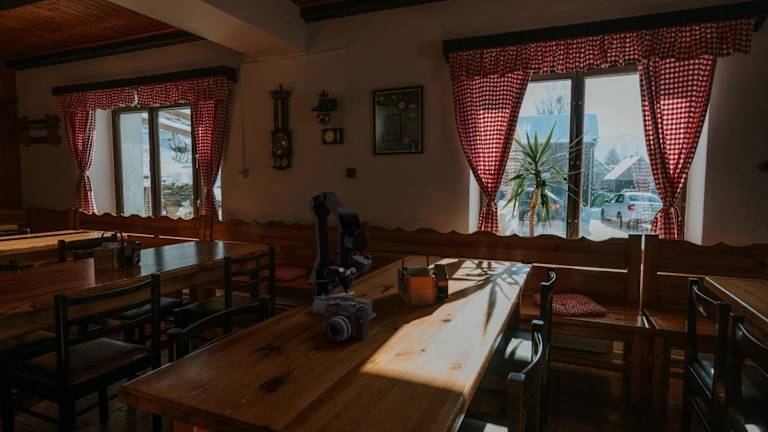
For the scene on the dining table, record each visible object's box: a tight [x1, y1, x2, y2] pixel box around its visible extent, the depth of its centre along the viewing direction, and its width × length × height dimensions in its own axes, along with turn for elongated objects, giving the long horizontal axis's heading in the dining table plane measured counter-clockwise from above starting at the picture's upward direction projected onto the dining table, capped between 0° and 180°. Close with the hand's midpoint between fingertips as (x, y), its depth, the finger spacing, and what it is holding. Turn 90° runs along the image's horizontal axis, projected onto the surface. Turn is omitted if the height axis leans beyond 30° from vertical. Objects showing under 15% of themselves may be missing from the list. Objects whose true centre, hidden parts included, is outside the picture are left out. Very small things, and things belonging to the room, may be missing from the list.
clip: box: [353, 297, 373, 315], centre depth 153 cm, size 5×4×4 cm
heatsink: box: [312, 292, 359, 316], centre depth 158 cm, size 15×10×5 cm, turn 62°
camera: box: [325, 300, 369, 342], centre depth 133 cm, size 14×11×10 cm
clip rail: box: [368, 312, 377, 321], centre depth 154 cm, size 8×5×1 cm, turn 62°
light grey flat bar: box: [319, 291, 356, 299], centre depth 158 cm, size 14×2×1 cm, turn 62°
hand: (347, 292), depth 156 cm, fingers closed, pressing on light grey flat bar
